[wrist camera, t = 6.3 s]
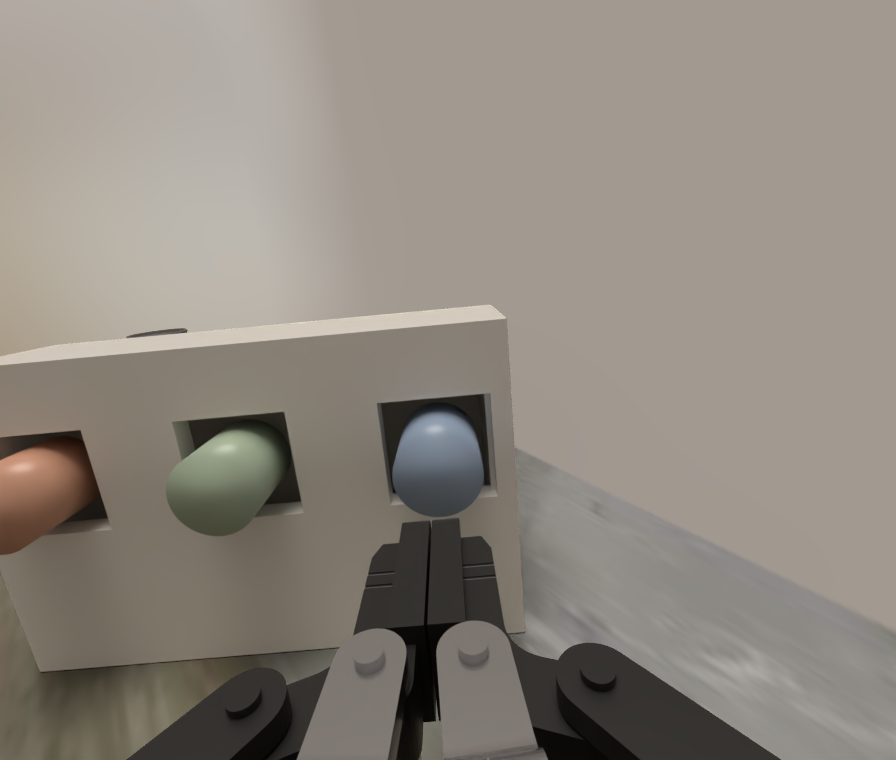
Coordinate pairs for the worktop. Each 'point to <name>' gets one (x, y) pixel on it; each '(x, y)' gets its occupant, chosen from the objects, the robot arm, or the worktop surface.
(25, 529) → the terracotta button
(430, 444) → the blue button
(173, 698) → the worktop surface
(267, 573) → the console
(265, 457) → the sage button
